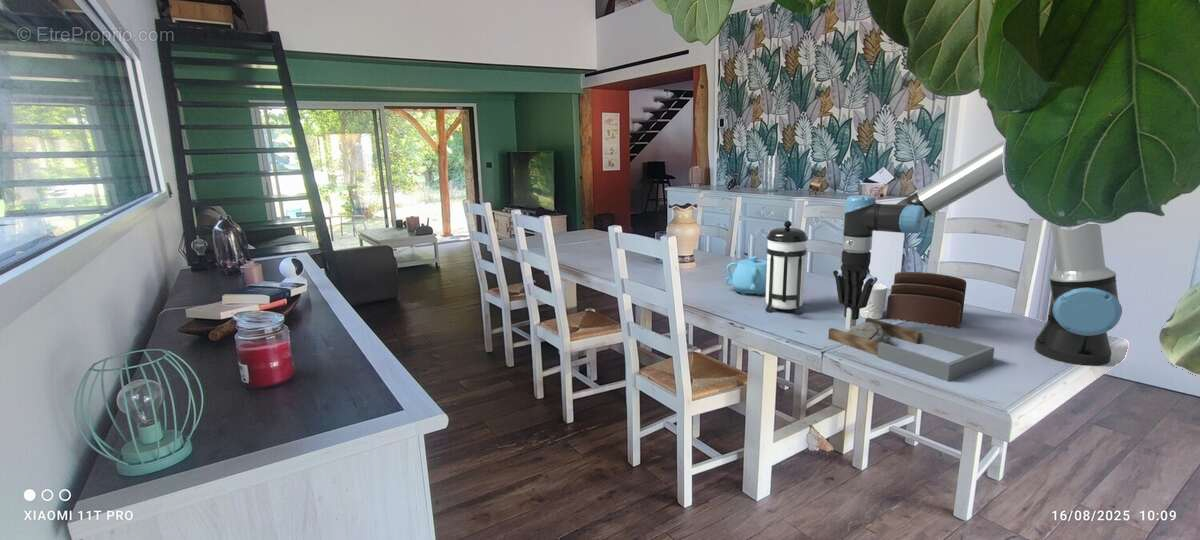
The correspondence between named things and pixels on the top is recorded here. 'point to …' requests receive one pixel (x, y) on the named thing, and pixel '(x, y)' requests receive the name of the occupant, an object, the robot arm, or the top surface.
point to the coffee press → (785, 268)
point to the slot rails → (869, 344)
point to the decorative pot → (748, 276)
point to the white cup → (875, 302)
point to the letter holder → (927, 298)
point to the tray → (973, 360)
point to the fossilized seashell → (870, 332)
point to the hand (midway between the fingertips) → (850, 328)
